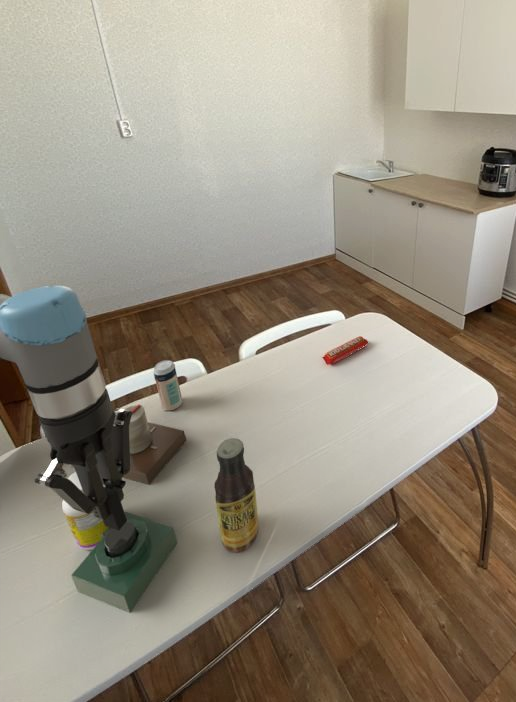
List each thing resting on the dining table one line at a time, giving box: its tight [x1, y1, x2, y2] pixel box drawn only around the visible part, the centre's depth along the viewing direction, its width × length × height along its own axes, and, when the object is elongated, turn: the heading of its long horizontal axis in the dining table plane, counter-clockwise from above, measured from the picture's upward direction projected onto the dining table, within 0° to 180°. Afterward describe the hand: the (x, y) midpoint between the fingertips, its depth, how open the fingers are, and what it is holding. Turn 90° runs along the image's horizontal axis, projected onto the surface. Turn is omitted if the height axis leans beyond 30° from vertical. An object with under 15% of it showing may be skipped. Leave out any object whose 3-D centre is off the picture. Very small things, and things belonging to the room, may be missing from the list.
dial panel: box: [120, 421, 187, 486], centre depth 82 cm, size 14×11×3 cm
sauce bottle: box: [214, 437, 259, 553], centre depth 63 cm, size 7×6×20 cm
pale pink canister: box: [152, 359, 184, 411], centre depth 94 cm, size 5×5×12 cm
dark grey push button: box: [104, 521, 137, 557], centre depth 60 cm, size 4×4×2 cm
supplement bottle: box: [61, 471, 111, 551], centre depth 65 cm, size 7×7×13 cm
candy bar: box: [321, 335, 369, 366], centre depth 114 cm, size 16×4×3 cm, turn 131°
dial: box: [123, 403, 152, 454], centre depth 80 cm, size 5×5×8 cm
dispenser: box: [70, 511, 178, 613], centre depth 61 cm, size 10×10×6 cm
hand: (116, 523), depth 59 cm, fingers closed
